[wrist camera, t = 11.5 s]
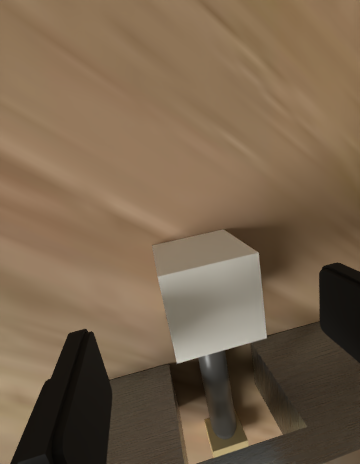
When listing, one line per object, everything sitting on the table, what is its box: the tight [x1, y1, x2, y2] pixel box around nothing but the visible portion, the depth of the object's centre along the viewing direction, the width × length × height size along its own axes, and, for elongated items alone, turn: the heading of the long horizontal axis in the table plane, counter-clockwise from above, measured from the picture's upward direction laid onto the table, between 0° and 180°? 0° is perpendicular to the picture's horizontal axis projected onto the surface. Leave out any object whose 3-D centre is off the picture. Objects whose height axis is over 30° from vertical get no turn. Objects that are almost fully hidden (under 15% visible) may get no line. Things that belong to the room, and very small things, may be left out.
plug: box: [152, 229, 267, 458], centre depth 14 cm, size 4×16×4 cm, turn 10°
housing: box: [106, 322, 360, 464], centre depth 13 cm, size 18×4×8 cm, turn 100°
